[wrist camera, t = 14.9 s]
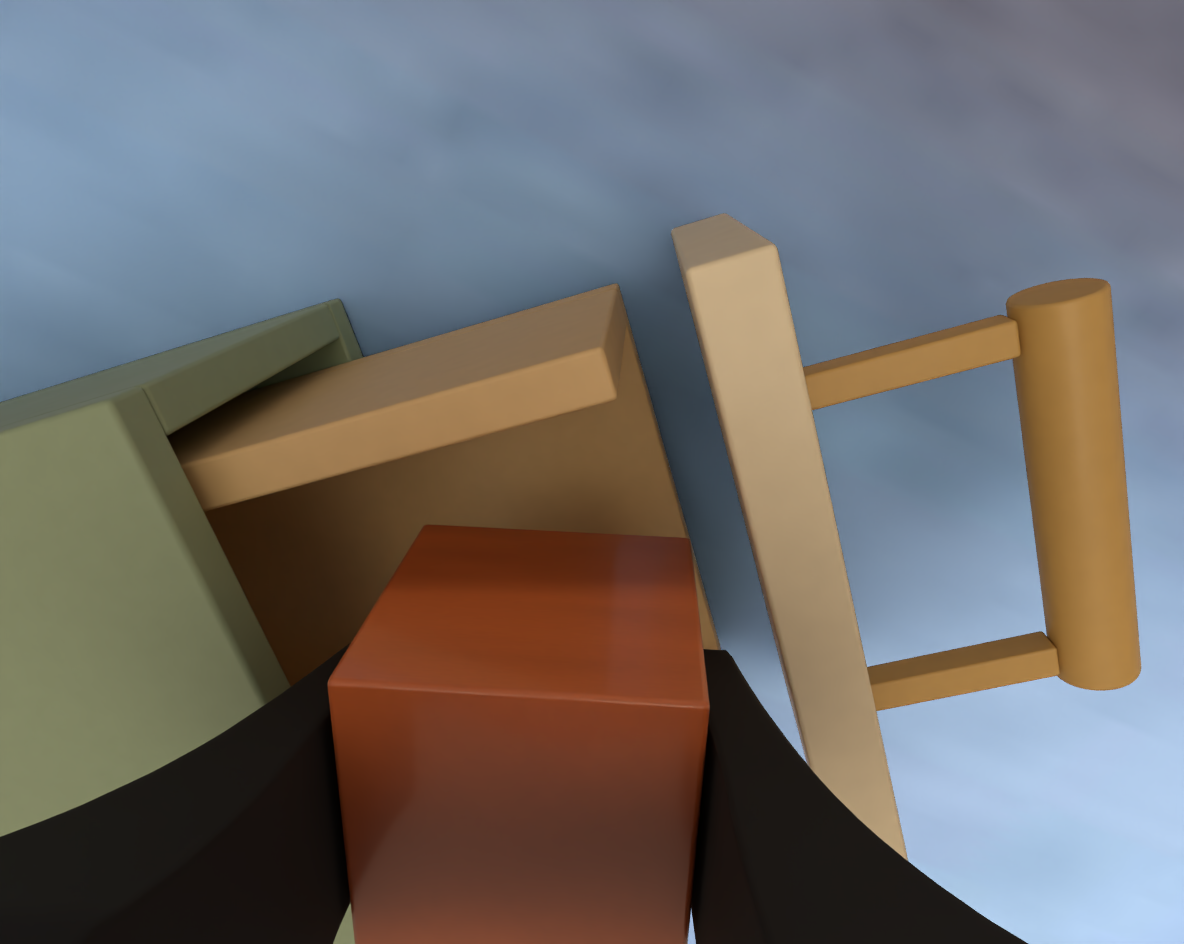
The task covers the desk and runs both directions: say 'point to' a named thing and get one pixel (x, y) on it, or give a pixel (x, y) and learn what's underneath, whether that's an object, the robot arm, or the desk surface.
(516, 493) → the drawer
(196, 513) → the cabinet
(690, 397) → the desk surface
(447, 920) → the block
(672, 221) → the desk surface
